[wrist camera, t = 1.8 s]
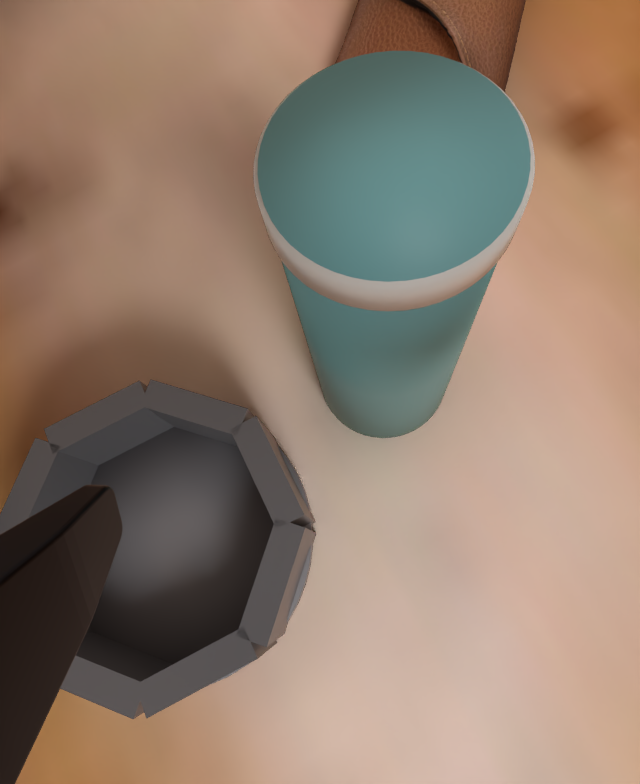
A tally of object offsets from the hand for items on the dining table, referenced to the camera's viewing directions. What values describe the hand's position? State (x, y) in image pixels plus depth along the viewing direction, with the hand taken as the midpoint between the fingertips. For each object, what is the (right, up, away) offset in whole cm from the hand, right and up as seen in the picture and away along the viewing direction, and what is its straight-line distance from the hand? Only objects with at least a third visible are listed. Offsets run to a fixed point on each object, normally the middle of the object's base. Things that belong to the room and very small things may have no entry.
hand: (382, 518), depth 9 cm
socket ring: (-6, -4, +13) cm, 15 cm away
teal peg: (+1, +3, +14) cm, 14 cm away
